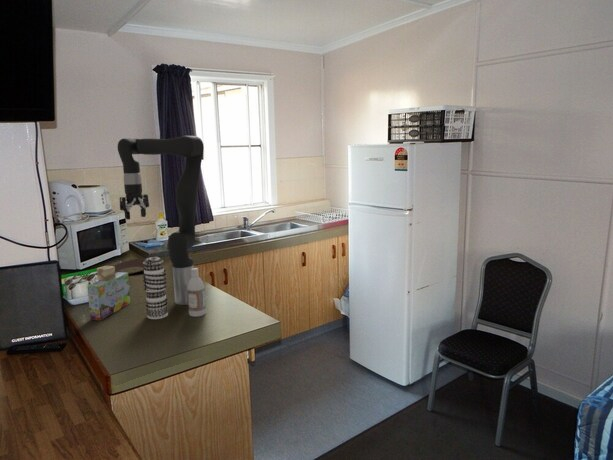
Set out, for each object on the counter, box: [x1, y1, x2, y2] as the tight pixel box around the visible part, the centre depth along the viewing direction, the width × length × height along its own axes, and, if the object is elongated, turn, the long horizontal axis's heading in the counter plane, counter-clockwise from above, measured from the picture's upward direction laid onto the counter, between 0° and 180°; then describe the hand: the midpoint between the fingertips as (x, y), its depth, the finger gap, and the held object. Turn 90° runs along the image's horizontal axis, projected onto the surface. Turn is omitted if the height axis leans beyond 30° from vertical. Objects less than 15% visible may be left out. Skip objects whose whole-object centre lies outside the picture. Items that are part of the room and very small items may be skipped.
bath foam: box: [187, 267, 207, 317], centre depth 184 cm, size 7×7×20 cm
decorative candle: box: [142, 256, 169, 320], centre depth 182 cm, size 9×9×25 cm
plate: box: [112, 257, 148, 275], centre depth 258 cm, size 28×28×4 cm
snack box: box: [86, 271, 131, 322], centre depth 189 cm, size 21×6×15 cm, turn 169°
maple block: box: [96, 265, 116, 281], centre depth 187 cm, size 5×5×5 cm
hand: (135, 218), depth 202 cm, fingers open, 8 cm apart
